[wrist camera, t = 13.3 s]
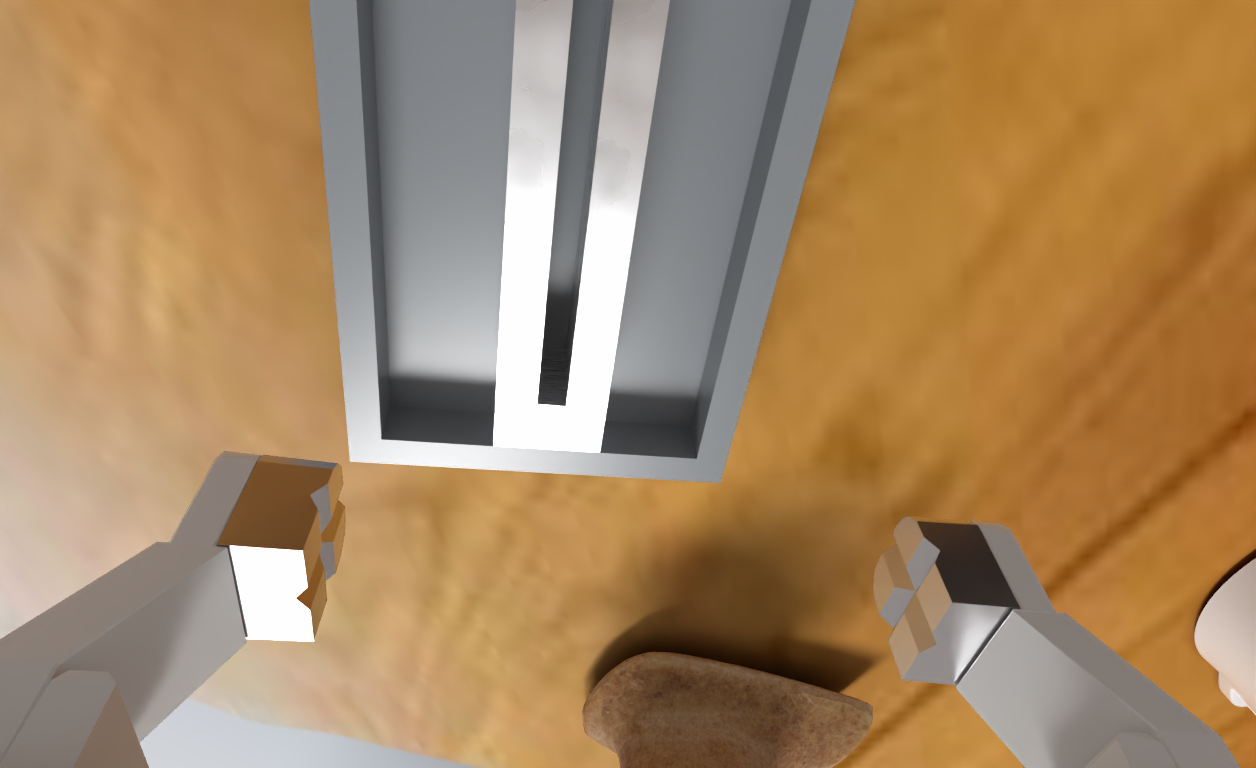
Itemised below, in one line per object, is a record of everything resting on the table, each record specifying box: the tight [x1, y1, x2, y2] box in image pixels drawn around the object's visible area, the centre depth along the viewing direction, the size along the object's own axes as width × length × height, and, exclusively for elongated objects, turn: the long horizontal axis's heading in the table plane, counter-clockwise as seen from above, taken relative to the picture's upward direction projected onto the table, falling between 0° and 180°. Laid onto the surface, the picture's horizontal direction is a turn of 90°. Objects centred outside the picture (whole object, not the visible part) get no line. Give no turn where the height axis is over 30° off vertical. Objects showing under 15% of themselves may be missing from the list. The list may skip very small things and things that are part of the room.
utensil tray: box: [309, 0, 855, 483], centre depth 25 cm, size 14×25×3 cm, turn 172°
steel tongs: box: [493, 0, 670, 453], centre depth 24 cm, size 4×20×4 cm, turn 172°
